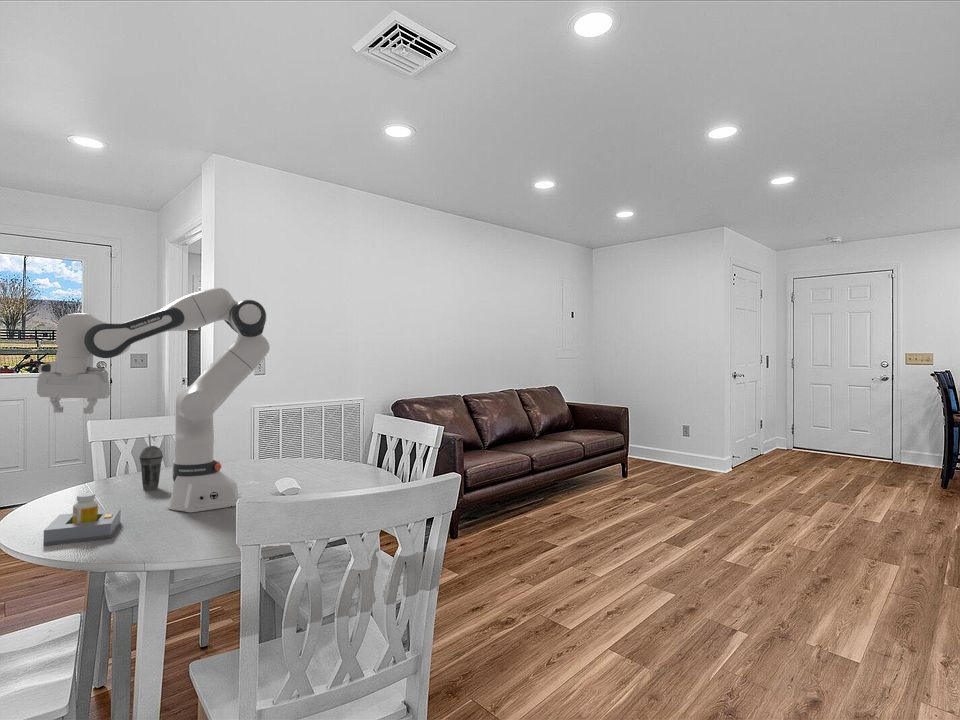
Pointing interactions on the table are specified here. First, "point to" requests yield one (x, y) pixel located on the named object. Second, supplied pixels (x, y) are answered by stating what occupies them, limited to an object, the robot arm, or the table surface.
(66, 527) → the dock
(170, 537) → the table surface
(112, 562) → the table surface
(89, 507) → the supplement bottle
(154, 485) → the beverage cup
